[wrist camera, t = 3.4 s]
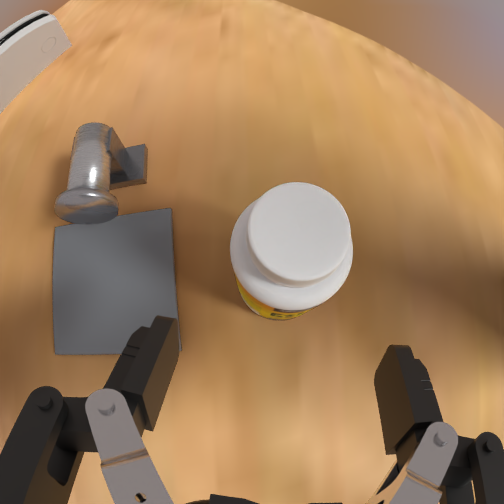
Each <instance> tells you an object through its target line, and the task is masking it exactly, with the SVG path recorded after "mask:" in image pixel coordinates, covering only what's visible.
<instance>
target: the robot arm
mask: <svg viewBox="0 0 504 504" xmlns="http://www.w3.org/2000/svg"><path fill="white" fill-rule="evenodd" d="M178 356H179V335H178V322H177V319H176V318H170V317H165V316H159V315H157V316H156V317H155V318H154V320H153V322H152V324H151V326H150V328H149V327H144V326H141V327H140V328H139V329H137V330H136V331H135V332H134V333H133V334H131V336H130V338H129V340H128V342H127V344H126V347H125V348H124V349H123V351H122V355H120V357H119V359H118V361H117V363H116V365H115V367H114V369H113V371H112V373H111V375H110V377H109V379H108V381H107V382H106V384H105V386H104V387H103V389H100V390H97V391H95V392H93V393H92V394H91V395H90V396H89V397H83V398H79V397H62V395H61V393H60V392H59V391H58V390H57V389H55V388H53V387H50V386H43V387H39V388H37V389H35V390H34V391H33V392H32V393H31V394H30V396H29V397H28V399H27V401H26V403H25V405H24V407H23V409H22V411H21V412H20V414H19V416H18V418H17V420H16V422H15V424H14V426H13V429H12V431H11V433H10V435H9V437H8V439H7V441H6V443H5V445H4V448H3V450H2V452H1V454H0V504H67V503H68V500H69V497H70V493H71V490H72V487H73V484H74V481H75V478H76V475H77V472H78V469H79V466H80V463H81V460H82V457H83V455H84V452H99V455H100V458H101V469H102V473H103V475H104V478H105V481H106V483H107V486H108V488H109V491H110V493H111V496H112V498H113V501H114V503H115V504H174V503H173V501H172V500H171V498H170V496H169V494H168V492H167V490H166V488H165V486H164V485H163V483H162V481H161V479H160V477H159V475H158V473H157V471H156V469H155V467H154V464H153V462H152V460H151V458H150V456H149V454H148V452H147V450H146V448H145V446H144V443H143V441H142V439H141V437H142V434H143V431H144V429H146V430H150V431H153V430H154V427H155V424H156V421H157V418H158V415H159V412H160V409H161V407H162V404H163V401H164V398H165V395H166V392H167V389H168V386H169V384H170V381H171V378H172V375H173V372H174V370H175V367H176V364H177V361H178ZM374 386H375V391H376V396H377V402H378V407H379V413H380V419H381V425H382V431H383V438H384V444H385V451H386V455H390V454H396V456H397V460H396V461H395V462H394V464H393V465H392V467H391V468H390V470H389V472H388V473H387V475H386V476H385V478H384V479H383V481H382V482H381V484H380V485H379V487H378V488H377V490H376V491H375V492H374V494H373V495H372V497H371V498H370V499H369V500H368V501H367V502H366V503H365V504H438V502H440V504H504V449H503V446H502V443H501V441H500V439H499V438H498V437H497V436H496V435H495V434H493V433H491V432H484V433H482V434H480V435H479V436H478V437H477V438H476V439H472V438H467V437H462V436H458V435H457V433H456V431H455V430H454V428H453V427H452V426H450V425H449V424H447V423H444V422H443V419H442V416H441V412H440V409H439V406H438V402H437V399H436V396H435V393H434V390H433V387H432V384H431V382H430V378H429V375H428V372H427V369H426V368H425V366H424V365H423V364H422V362H421V361H420V360H419V359H414V356H413V353H412V350H411V348H410V347H409V346H407V345H390V346H389V347H388V349H387V351H386V353H385V355H384V357H383V359H382V360H381V362H380V364H379V366H378V368H377V370H376V373H375V378H374ZM472 480H473V484H474V491H475V497H476V503H474V496H473V489H472V483H471V481H472ZM186 504H258V503H255V502H252V501H249V500H246V499H243V498H235V497H228V496H221V495H215V494H211V495H210V500H200V501H194V502H190V503H186ZM309 504H342V503H309Z"/></svg>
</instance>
